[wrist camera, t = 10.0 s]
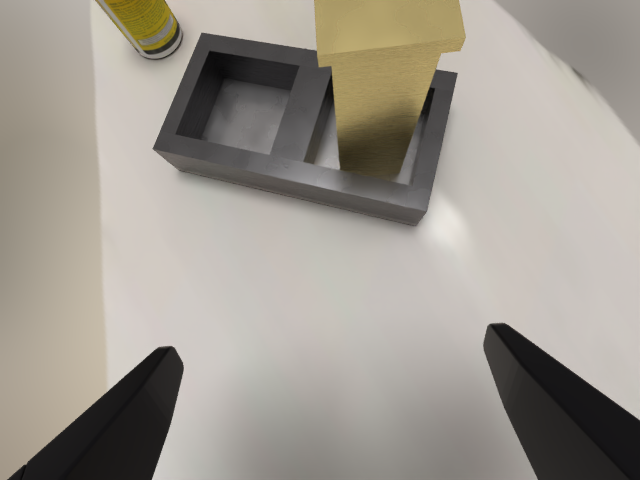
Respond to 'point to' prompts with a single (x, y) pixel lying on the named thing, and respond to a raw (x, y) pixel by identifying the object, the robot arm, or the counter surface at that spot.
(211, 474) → the counter surface
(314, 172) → the compartment tray
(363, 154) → the brass block
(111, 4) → the supplement bottle
